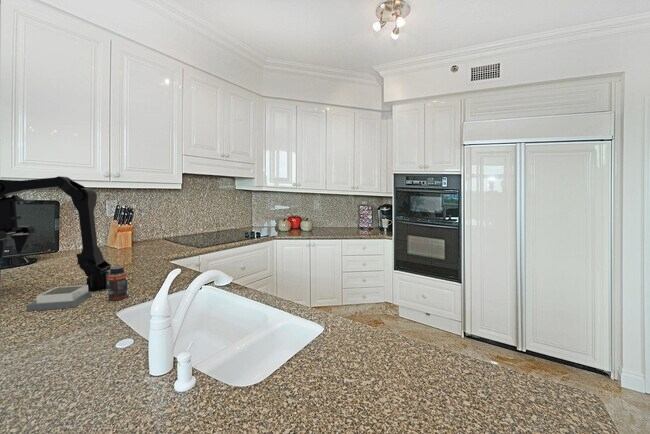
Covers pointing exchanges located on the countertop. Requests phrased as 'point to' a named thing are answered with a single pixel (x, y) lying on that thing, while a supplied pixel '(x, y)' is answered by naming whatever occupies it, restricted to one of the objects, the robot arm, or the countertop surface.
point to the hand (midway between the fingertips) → (10, 255)
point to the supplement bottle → (117, 283)
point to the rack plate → (60, 298)
